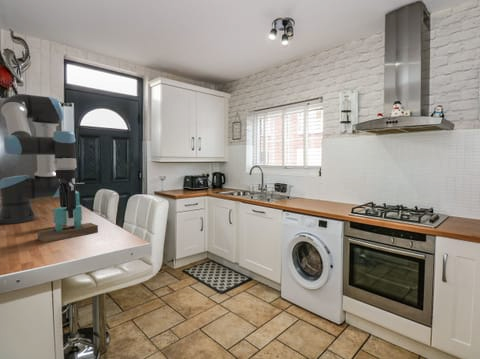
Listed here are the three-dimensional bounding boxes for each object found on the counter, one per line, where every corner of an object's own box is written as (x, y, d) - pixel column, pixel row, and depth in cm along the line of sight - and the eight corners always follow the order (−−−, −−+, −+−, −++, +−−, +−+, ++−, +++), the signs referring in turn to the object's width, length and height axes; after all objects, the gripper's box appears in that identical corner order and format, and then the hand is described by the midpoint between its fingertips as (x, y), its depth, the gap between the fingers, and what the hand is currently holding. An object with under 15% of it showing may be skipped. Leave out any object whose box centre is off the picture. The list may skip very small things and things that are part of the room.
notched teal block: (54, 237, 111) (53, 208, 110) (80, 232, 118) (78, 205, 118) (57, 238, 109) (55, 209, 109) (82, 233, 117) (81, 206, 116)
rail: (37, 238, 109) (37, 231, 109) (90, 229, 124) (90, 222, 124) (43, 242, 104) (43, 235, 103) (98, 232, 119) (97, 225, 119)
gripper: (49, 168, 114) (52, 223, 116) (62, 169, 103) (65, 230, 105) (69, 168, 120) (71, 220, 122) (83, 169, 109) (86, 226, 111)
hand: (68, 224), depth 114 cm, fingers open, 4 cm apart
